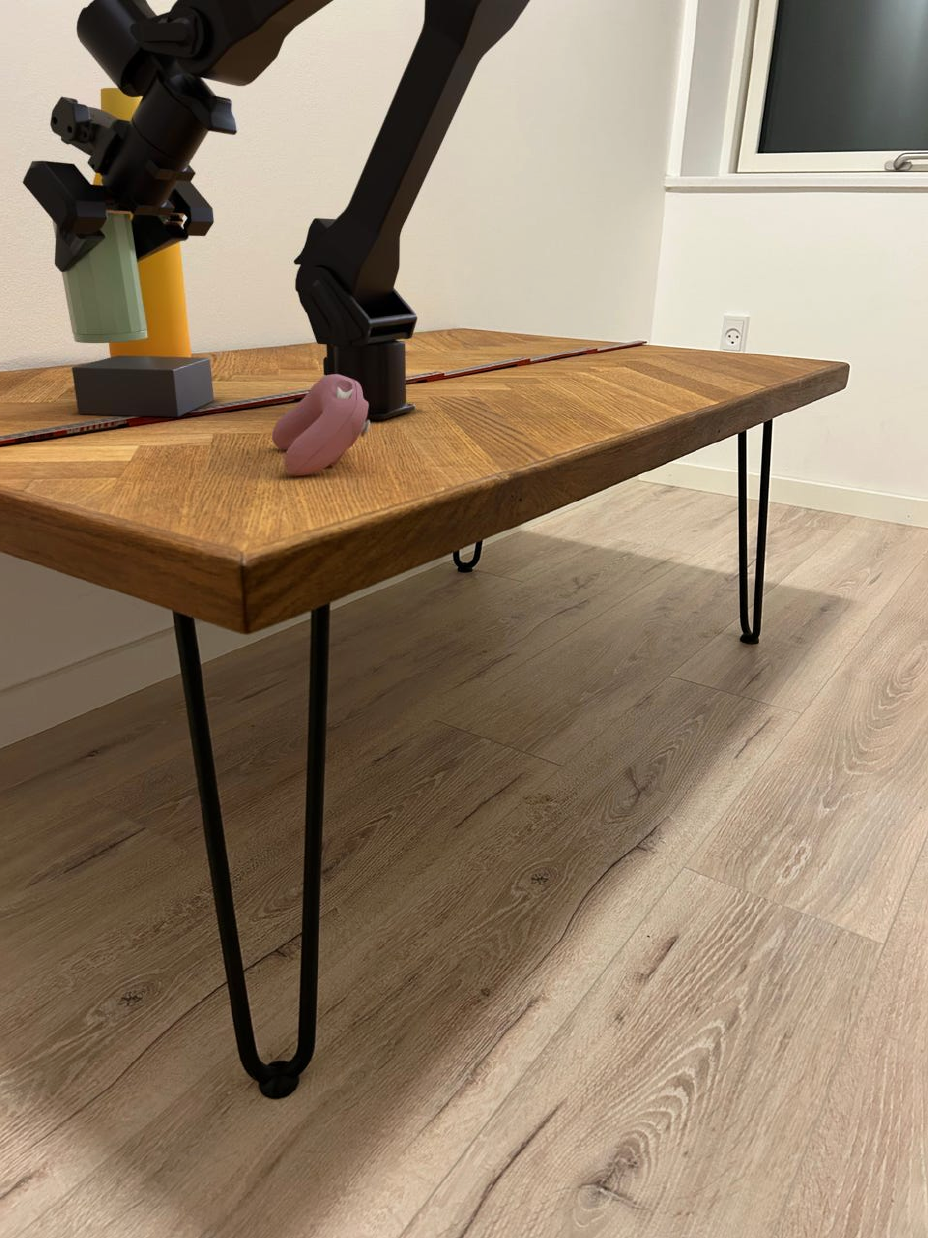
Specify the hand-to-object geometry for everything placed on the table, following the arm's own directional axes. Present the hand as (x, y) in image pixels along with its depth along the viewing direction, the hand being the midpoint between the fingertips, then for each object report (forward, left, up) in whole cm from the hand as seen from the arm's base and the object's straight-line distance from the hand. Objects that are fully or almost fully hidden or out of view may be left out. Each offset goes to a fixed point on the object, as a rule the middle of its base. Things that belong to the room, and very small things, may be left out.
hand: (89, 267), depth 90 cm
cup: (-2, 0, -7) cm, 7 cm away
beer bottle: (+8, -15, -12) cm, 21 cm away
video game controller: (-38, +18, -12) cm, 44 cm away
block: (-12, +7, -11) cm, 18 cm away
